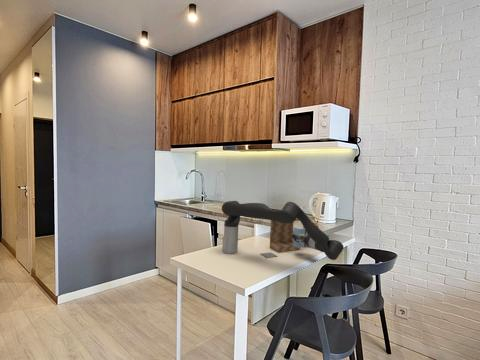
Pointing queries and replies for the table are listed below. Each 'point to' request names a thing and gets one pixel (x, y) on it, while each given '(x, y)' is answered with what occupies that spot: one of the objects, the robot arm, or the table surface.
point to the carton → (298, 232)
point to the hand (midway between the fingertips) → (296, 235)
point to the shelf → (282, 237)
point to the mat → (269, 255)
